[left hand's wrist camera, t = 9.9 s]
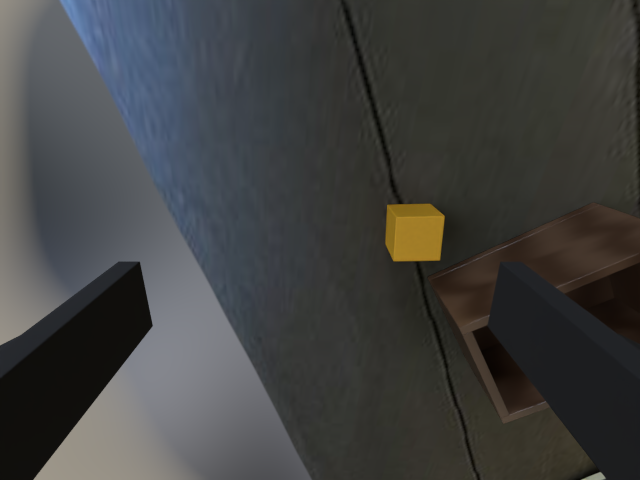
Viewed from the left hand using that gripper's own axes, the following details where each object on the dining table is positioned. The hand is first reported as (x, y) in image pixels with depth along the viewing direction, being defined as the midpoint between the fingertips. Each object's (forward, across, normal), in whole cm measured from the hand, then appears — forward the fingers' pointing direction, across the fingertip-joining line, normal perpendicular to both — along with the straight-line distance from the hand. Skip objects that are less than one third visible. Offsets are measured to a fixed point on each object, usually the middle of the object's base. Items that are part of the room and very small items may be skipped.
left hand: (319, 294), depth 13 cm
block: (+21, +8, -4) cm, 23 cm away
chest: (+21, +21, -11) cm, 32 cm away
